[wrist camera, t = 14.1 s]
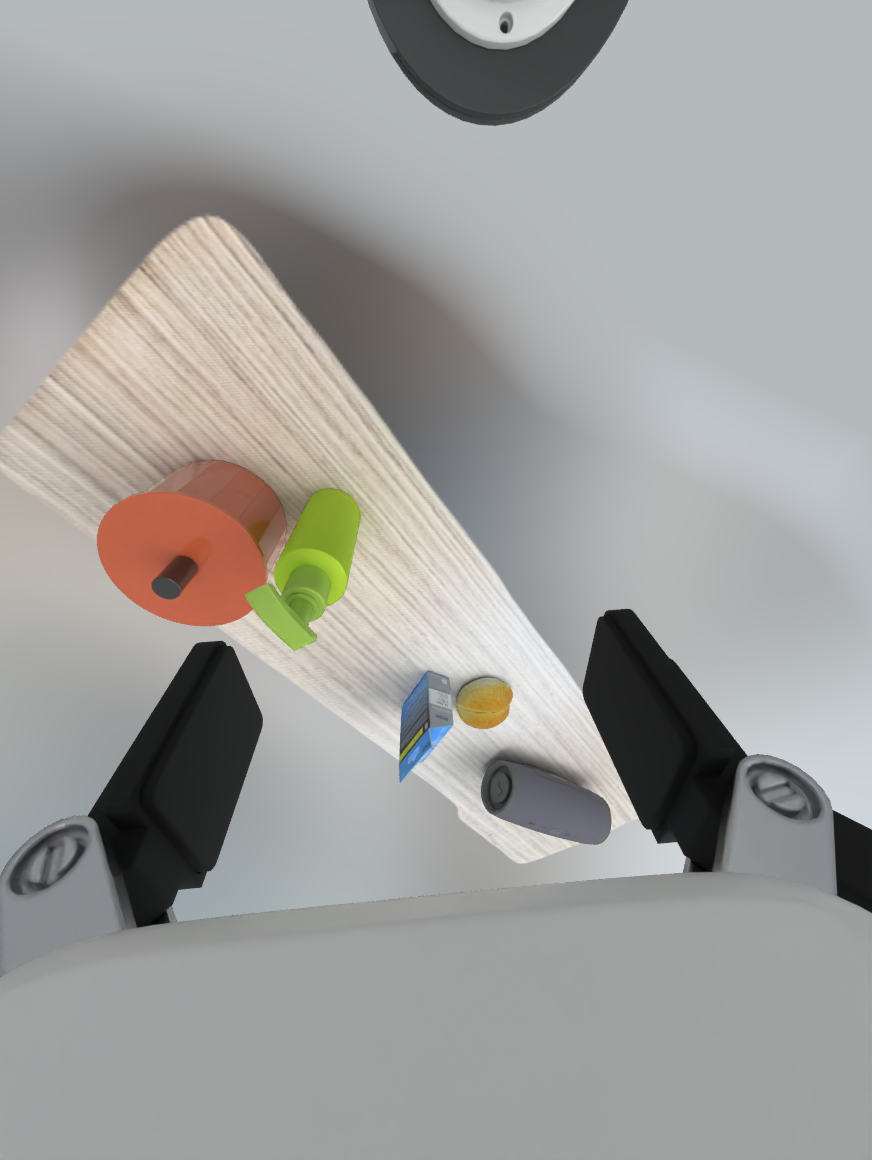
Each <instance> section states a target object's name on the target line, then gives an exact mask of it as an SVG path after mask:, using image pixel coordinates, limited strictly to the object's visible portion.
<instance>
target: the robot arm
mask: <svg viewBox="0 0 872 1160" xmlns="http://www.w3.org/2000/svg"><path fill="white" fill-rule="evenodd" d="M430 1H431V3H432V5H433V6H434V8H435V9H436V11H437V12H438V14H439V15H440V16H441V17H442V19H443V20H444V21H445V22H446V23H447V24H448V25H449V26H450V27H451V28H452V29H453V30H454V31H455V32H456V33H458V34H459V35H461V36H462V37H463V38H465V39H466V40H468V41H469V42H471V43H473V44H476V45H479V46H482V47H485V48H488V49H504V50H508V49H512V48H515V47H519V46H523V45H526V44H528V43H530V42H531V41H533V40H535V39H537V38H538V37H540V36H542V35H543V34H545V33H546V32H547V31H548V30H549V29H550V28H551V27H552V26H553V25H555V24H556V23H557V22H558V21H559V20H560V19H561V18H562V16H563V15H564V14H565V12H566V11H567V10H568V9H569V7H570V6H571V5H572V3H573V2H574V1H575V0H430ZM502 25H504V26H506V28H507V33H506V34H505V33H502V31H501V30H500V27H501V26H502ZM583 697H584V700H585V703H586V705H587V707H588V709H589V711H590V714H591V716H592V718H593V720H594V722H595V724H596V727H597V729H598V731H599V733H600V735H601V737H602V740H603V742H604V744H605V746H606V748H607V750H608V753H609V755H610V757H611V759H612V761H613V763H614V765H615V768H616V770H617V772H618V774H619V776H620V778H621V781H622V783H623V785H624V787H625V789H626V791H627V794H628V796H629V798H630V800H631V802H632V804H633V807H634V809H635V811H636V813H637V815H638V817H639V819H640V821H641V823H642V825H643V826H644V827H645V828H646V829H651V830H652V832H653V834H654V837H655V839H656V841H657V843H658V844H660V843H671V842H678V844H679V846H680V848H681V850H682V852H683V854H684V855H685V856H686V861H685V865H684V870H683V873H675V874H662V875H648V876H635V877H621V878H608V879H598V880H587V881H576V882H566V883H555V884H545V885H533V886H523V887H512V888H501V889H490V890H480V891H470V892H460V893H449V894H439V895H430V896H419V897H409V898H399V899H389V900H380V901H368V902H358V903H349V904H338V905H329V906H319V907H309V908H300V909H290V910H281V911H271V912H261V913H251V914H241V915H232V916H224V917H216V918H207V919H200V920H192V921H183V922H177V920H176V917H175V914H174V911H173V908H172V904H173V902H174V899H175V897H176V894H177V892H178V890H181V889H190V888H200V887H202V884H203V881H204V879H205V876H206V873H207V871H211V870H212V869H213V868H214V866H215V864H216V862H217V859H218V857H219V854H220V851H221V848H222V845H223V842H224V839H225V836H226V833H227V830H228V827H229V824H230V821H231V818H232V815H233V812H234V809H235V806H236V803H237V801H238V798H239V794H240V792H241V789H242V786H243V783H244V780H245V777H246V774H247V771H248V768H249V765H250V762H251V759H252V756H253V753H254V750H255V747H256V744H257V741H258V738H259V735H260V733H261V729H262V723H263V718H262V714H261V711H260V709H259V707H258V705H257V702H256V700H255V698H254V695H253V693H252V690H251V688H250V686H249V683H248V681H247V679H246V677H245V674H244V672H243V670H242V667H241V665H240V663H239V660H238V658H237V656H236V653H235V651H234V649H233V647H231V646H227V645H226V643H225V642H223V641H214V642H201V643H197V644H196V645H195V646H194V647H193V648H192V650H191V652H190V653H189V655H188V656H187V658H186V660H185V661H184V663H183V665H182V666H181V667H180V669H179V671H178V672H177V674H176V676H175V677H174V679H173V680H172V682H171V684H170V685H169V687H168V688H167V690H166V692H165V693H164V695H163V696H162V698H161V700H160V701H159V703H158V704H157V706H156V707H155V709H154V711H153V712H152V713H151V715H150V717H149V719H148V720H147V722H146V723H145V725H144V726H143V728H142V730H141V731H140V733H139V734H138V736H137V738H136V739H135V741H134V742H133V744H132V746H131V747H130V749H129V750H128V752H127V754H126V755H125V757H124V758H123V760H122V762H121V763H120V765H119V766H118V768H117V770H116V771H115V773H114V774H113V776H112V778H111V779H110V781H109V783H108V784H107V786H106V787H105V789H104V790H103V792H102V794H101V795H100V797H99V799H98V800H97V802H96V803H95V805H94V806H93V808H92V810H91V811H90V813H89V814H88V816H72V817H68V818H65V819H61V820H59V821H57V822H55V823H53V824H51V825H49V826H47V827H45V828H44V829H42V830H41V831H39V832H38V833H37V834H35V835H34V836H32V837H31V838H30V839H29V840H28V841H27V842H26V843H24V844H23V845H22V846H21V847H20V848H19V849H18V850H17V851H16V852H15V854H14V855H13V856H12V858H11V859H10V860H9V861H8V863H7V864H6V865H5V867H4V869H3V871H2V873H1V875H0V1160H872V830H871V829H869V828H867V827H865V826H863V825H861V824H859V823H857V822H855V821H853V820H851V819H849V818H847V817H845V816H844V815H841V814H840V813H838V812H835V811H834V810H832V807H831V803H830V800H829V798H828V797H827V795H826V794H825V792H824V790H823V789H822V788H821V787H820V786H819V785H818V784H817V782H816V781H815V780H814V779H813V778H812V777H810V776H809V775H807V774H806V773H805V772H803V771H802V770H801V769H800V768H798V767H796V766H794V765H792V764H790V763H789V762H787V761H785V760H782V759H779V758H776V757H773V756H768V755H760V754H756V755H751V756H747V755H746V753H745V752H744V751H743V749H742V748H741V747H740V746H739V744H738V743H737V742H736V740H735V739H734V738H733V736H732V735H731V734H730V733H729V731H728V730H727V729H726V727H725V726H724V725H723V724H722V722H721V721H720V720H719V718H718V717H717V716H716V714H715V713H714V712H713V711H712V709H711V708H710V707H709V705H708V704H707V703H706V702H705V700H704V699H703V698H702V696H701V695H700V694H699V692H698V691H697V690H696V689H695V687H694V686H693V685H692V683H691V682H690V681H689V679H688V678H687V677H686V675H685V674H684V673H683V672H682V670H681V669H680V668H679V666H678V665H677V664H676V663H675V662H674V661H673V660H672V659H670V658H669V657H668V656H667V655H666V654H665V652H664V651H663V650H662V649H661V647H660V646H659V644H658V643H657V642H656V640H655V639H654V638H653V636H652V635H651V634H650V633H649V631H648V630H647V629H646V627H645V626H644V625H643V623H642V622H641V621H640V619H639V618H638V617H637V615H636V614H635V613H634V612H633V611H632V610H631V609H621V610H608V611H606V612H605V614H604V616H603V617H599V619H598V621H597V625H596V630H595V634H594V639H593V643H592V648H591V653H590V657H589V662H588V666H587V671H586V676H585V680H584V684H583Z"/></svg>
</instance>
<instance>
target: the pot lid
mask: <svg viewBox="0 0 872 1160" xmlns="http://www.w3.org/2000/svg"><path fill="white" fill-rule="evenodd" d="M97 547H98V553H99V557H100V560H101V563H102V565H103V567H104V569H105V571H106V573H107V574H108V576H109V577H110V579H111V580H112V581H113V582H114V584H115V585H116V586H117V587H118V589H120V590H121V591H122V592H123V593H124V594H125V595H126V596H127V597H128V598H129V599H131V600H132V601H133V602H134V603H136V604H137V605H139V606H141V607H142V608H143V609H145V610H147V611H149V612H151V613H153V614H155V615H157V616H159V617H162V618H164V619H167V620H170V621H173V622H177V623H181V624H187V625H194V626H215V625H222V624H226V623H230V622H233V621H235V620H238V619H240V618H242V617H243V616H245V615H246V614H248V613H249V612H251V611H252V610H253V608H252V607H251V605H250V604H249V602H248V601H247V599H246V598H245V596H244V595H245V594H247V593H249V592H250V591H252V590H254V589H256V588H258V587H260V586H262V585H264V584H267V577H268V573H267V565H266V561H265V557H264V554H263V552H262V549H261V548H260V546H259V544H258V542H257V540H256V539H255V538H254V536H253V535H252V534H251V532H250V531H249V530H248V529H247V528H246V527H245V526H244V525H243V524H242V523H241V522H240V521H239V520H238V519H237V518H236V517H234V516H233V515H232V514H230V513H229V512H227V511H226V510H225V509H223V508H221V507H219V506H218V505H216V504H214V503H212V502H210V501H208V500H205V499H203V498H200V497H197V496H194V495H191V494H187V493H183V492H178V491H169V490H153V491H146V492H141V493H137V494H134V495H131V496H129V497H127V498H125V499H123V500H122V501H120V502H119V503H117V504H116V505H114V506H113V507H112V508H111V509H110V510H109V511H108V512H107V513H106V515H105V516H104V518H103V519H102V521H101V524H100V526H99V529H98V535H97Z"/></svg>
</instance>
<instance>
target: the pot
mask: <svg viewBox="0 0 872 1160" xmlns="http://www.w3.org/2000/svg"><path fill="white" fill-rule="evenodd" d="M153 490H169V491H178V492H183V493H187V494H191V495H194V496H197V497H200V498H203V499H205V500H208V501H210V502H212V503H214V504H216V505H218V506H219V507H221V508H223V509H225V510H226V511H227V512H229V513H230V514H232V515H233V516H234V517H236V518H237V519H238V520H239V521H240V522H241V523H242V524H243V525H244V526H245V527H246V528H247V529H248V530H249V531H250V532H251V534H252V535H253V536H254V538H255V539H256V540H257V542H258V544H259V546H260V548H261V549H262V552H263V554H264V557H265V561H266V565H267V573H268V574H269V572H270V570H271V569H272V567H273V565H274V563H275V561H276V559H277V557H278V555H279V553H280V551H281V549H282V547H283V544H284V540H285V536H286V529H287V525H286V517H285V513H284V510H283V507H282V505H281V503H280V501H279V499H278V498H277V496H276V495H275V493H274V492H273V491H272V489H271V488H270V487H269V486H268V485H267V484H266V483H265V482H264V481H263V480H261V479H260V478H259V477H258V476H256V475H255V474H253V473H252V472H250V471H248V470H246V469H244V468H242V467H240V466H238V465H235V464H232V463H228V462H224V461H217V460H202V461H196V462H190V463H188V464H186V465H184V466H182V467H181V468H179V469H177V470H176V471H174V472H172V473H170V474H169V475H167V476H166V477H165V478H163V479H162V480H160V481H159V482H158V483H156V484H155V485H153V486H152V487H150V488H149V489H148V490H146V491H153ZM146 491H145V492H146Z"/></svg>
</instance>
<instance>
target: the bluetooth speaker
mask: <svg viewBox="0 0 872 1160" xmlns="http://www.w3.org/2000/svg"><path fill="white" fill-rule="evenodd" d="M481 797H482V801H483V804H484V806H485V808H486V810H487V811H488V812H489V813H491V814H493V815H494V816H497V817H499V818H501V819H503V820H506V821H509V822H511V823H514V824H517V825H520V826H522V827H525V828H528V829H531V830H534V831H537V832H541V833H544V834H547V835H551V836H555V837H558V838H562V839H566V840H571V841H575V842H579V843H584V844H594V845H595V844H600V843H602V842H603V841H605V840H606V838H607V837H608V835H609V833H610V829H611V813H610V808H609V806H608V804H607V803H606V801H605V800H604V799H603V798H602V797H600V796H599V795H597V794H595V793H593V792H592V791H590V790H587V789H585V788H583V787H581V786H579V785H577V784H574V783H572V782H569V781H567V780H565V779H563V778H561V777H560V776H558V775H556V774H554V773H552V772H549V771H546V770H544V769H541V768H538V767H536V766H532V765H528V764H521V765H520V764H516V763H513V762H508V761H503V760H498V761H496V762H495V763H493V764H492V765H491V766H490V767H489V768H488V769H487V771H486V773H485V775H484V777H483V781H482V786H481Z"/></svg>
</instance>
